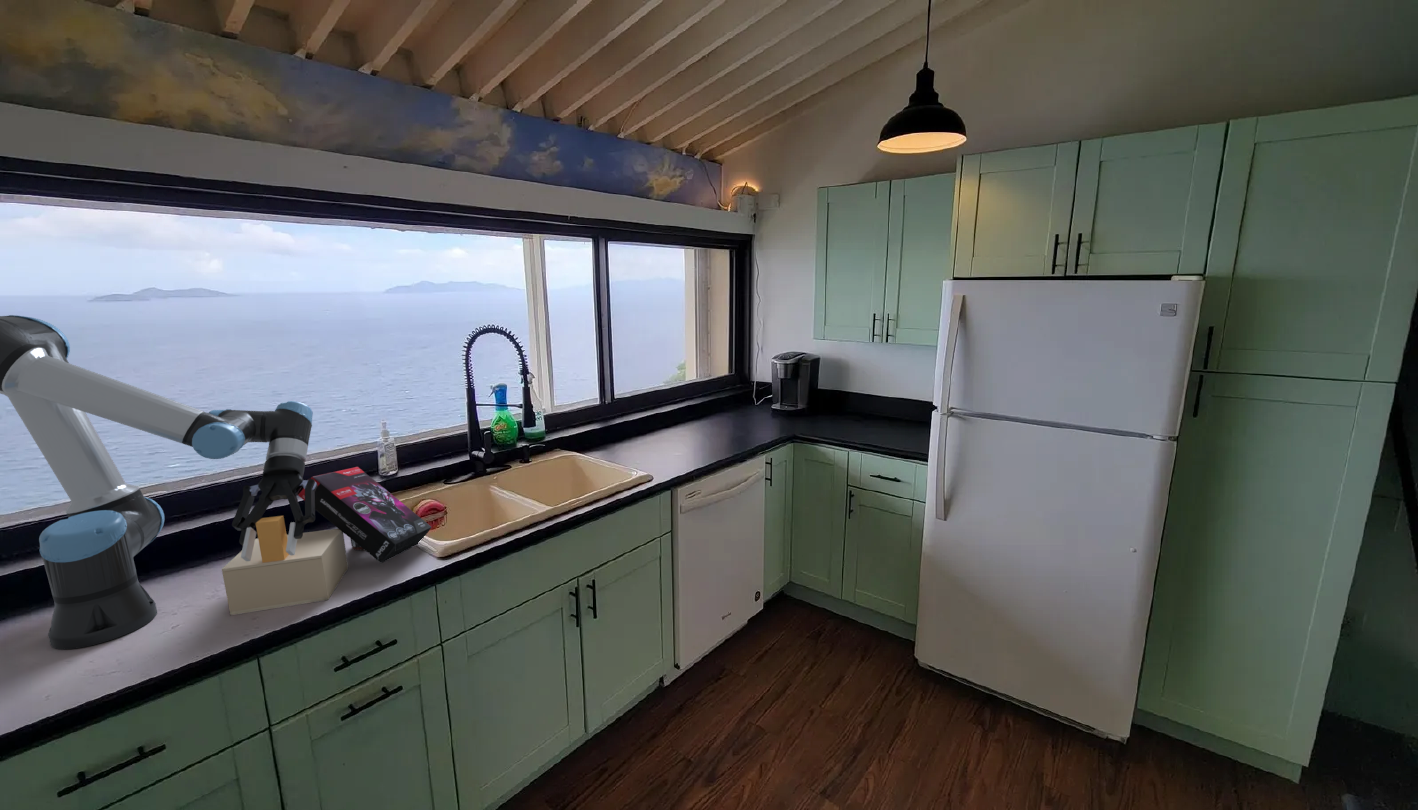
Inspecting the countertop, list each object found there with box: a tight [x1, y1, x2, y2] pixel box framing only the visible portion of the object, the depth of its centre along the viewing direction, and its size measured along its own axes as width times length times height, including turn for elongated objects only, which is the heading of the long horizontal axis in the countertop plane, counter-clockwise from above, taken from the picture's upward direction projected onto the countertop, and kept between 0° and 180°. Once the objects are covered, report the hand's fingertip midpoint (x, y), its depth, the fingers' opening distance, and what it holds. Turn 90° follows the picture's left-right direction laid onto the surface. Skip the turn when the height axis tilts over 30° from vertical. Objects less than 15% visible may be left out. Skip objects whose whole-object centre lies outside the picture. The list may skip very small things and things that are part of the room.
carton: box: [221, 532, 349, 616], centre depth 128 cm, size 18×16×10 cm
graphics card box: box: [296, 466, 432, 564], centre depth 144 cm, size 17×7×27 cm
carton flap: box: [221, 515, 342, 573], centre depth 126 cm, size 18×16×10 cm
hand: (268, 555), depth 118 cm, fingers open, 7 cm apart
